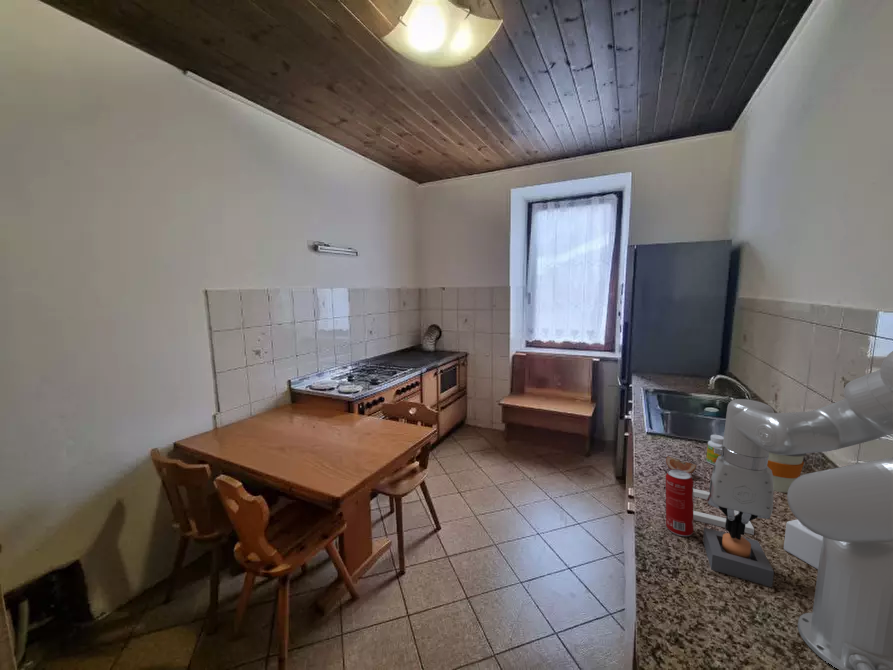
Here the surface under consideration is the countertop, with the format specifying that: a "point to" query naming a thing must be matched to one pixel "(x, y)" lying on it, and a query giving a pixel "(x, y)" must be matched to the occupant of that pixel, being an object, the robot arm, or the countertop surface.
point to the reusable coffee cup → (785, 470)
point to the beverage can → (679, 502)
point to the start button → (736, 546)
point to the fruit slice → (680, 465)
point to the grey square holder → (738, 560)
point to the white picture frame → (711, 518)
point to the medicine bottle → (803, 543)
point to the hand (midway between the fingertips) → (733, 534)
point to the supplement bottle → (714, 442)
